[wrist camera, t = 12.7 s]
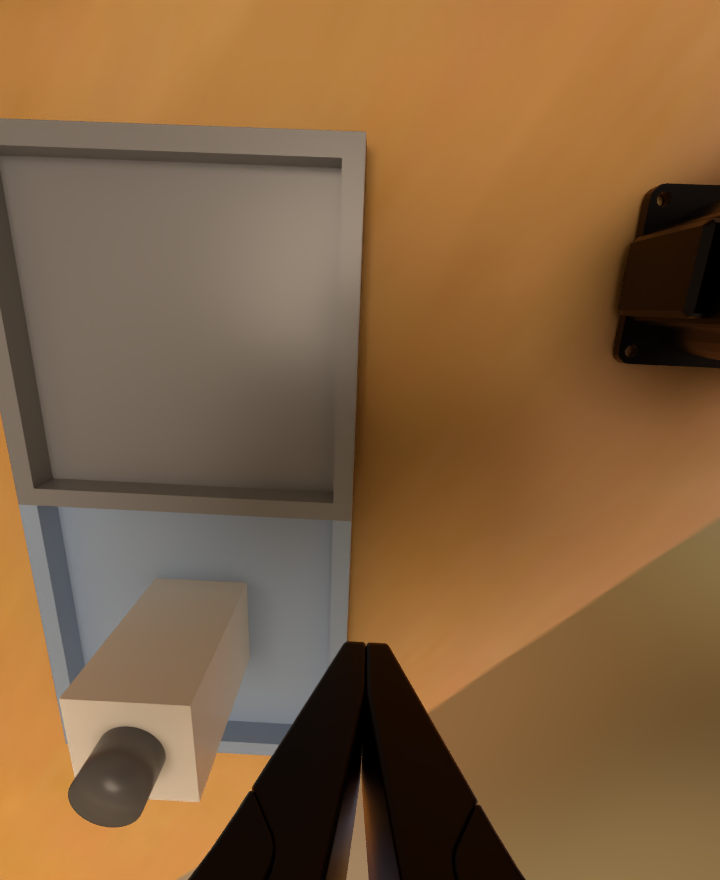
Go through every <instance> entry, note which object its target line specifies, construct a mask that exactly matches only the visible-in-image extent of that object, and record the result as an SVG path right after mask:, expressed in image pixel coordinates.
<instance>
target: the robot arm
mask: <svg viewBox="0 0 720 880" xmlns="http://www.w3.org/2000/svg"><path fill="white" fill-rule="evenodd" d="M659 194H661V195H663V197H664V203H663V205H662V206H659V205H658V204H657V197H658V195H659ZM618 310H619V312H620V313H621V316H620V320H619V325H618V330H617V335H616V340H615V345H614V357H615V359H616V360H618V361H619V362H623V363H627V364H644V365H667V366H689V367H712V368H720V185H694V184H668V183H667V184H661V185H659V186H657V187H655V188H653V189H651V190H650V191H649V192H648V193H647V194H646V196H645V199H644V202H643V207H642V212H641V217H640V222H639V227H638V231H637V236H636V240H635V241H633V242H632V243H631V245H630V250H629V255H628V260H627V265H626V270H625V275H624V280H623V285H622V290H621V295H620V300H619V305H618ZM629 345H631V347H632V352H631V354H630V355H629V356H626V355H625V349H626V348H627V347H628V346H629ZM361 756H362V793H363V808H364V821H365V834H366V847H367V862H368V875H369V880H526V879H525V878H524V877H523V875H522V874H521V872H520V871H519V869H518V868H517V866H516V864H515V863H514V861H513V860H512V858H511V856H510V855H509V853H508V851H507V850H506V848H505V847H504V845H503V843H502V841H501V840H500V838H499V836H498V835H497V833H496V831H495V830H494V828H493V826H492V825H491V823H490V821H489V819H488V818H487V816H486V814H485V812H484V811H483V809H482V807H481V806H480V805H477V803H478V801H477V799H476V797H475V795H474V794H473V792H472V790H471V788H470V787H469V785H468V783H467V781H466V780H465V778H464V776H463V774H462V773H461V771H460V769H459V767H458V766H457V764H456V762H455V761H454V759H453V757H452V755H451V754H450V752H449V750H448V748H447V746H446V745H445V743H444V741H443V739H442V738H441V736H440V734H439V732H438V731H437V729H436V727H435V726H434V724H433V722H432V720H431V719H430V717H429V715H428V713H427V712H426V710H425V708H424V706H423V705H422V703H421V701H420V699H419V698H418V696H417V694H416V692H415V691H414V689H413V687H412V685H411V684H410V682H409V680H408V678H407V677H406V675H405V673H404V671H403V670H402V668H401V666H400V664H399V663H398V661H397V659H396V658H395V656H394V654H393V652H392V651H391V649H390V647H389V646H388V645H387V644H385V643H368V644H367V645H365V643H364V642H351V641H347V642H345V643H344V644H343V645H342V647H341V648H340V650H339V651H338V653H337V654H336V656H335V658H334V659H333V661H332V662H331V664H330V665H329V667H328V669H327V670H326V672H325V673H324V675H323V676H322V678H321V680H320V681H319V683H318V684H317V686H316V687H315V689H314V691H313V692H312V694H311V695H310V697H309V698H308V700H307V702H306V703H305V705H304V706H303V708H302V709H301V711H300V713H299V714H298V716H297V717H296V719H295V720H294V722H293V724H292V725H291V727H290V728H289V730H288V731H287V733H286V735H285V736H284V738H283V739H282V741H281V743H280V744H279V746H278V747H277V749H276V750H275V752H274V754H273V755H272V757H271V758H270V760H269V761H268V763H267V765H266V766H265V768H264V769H263V771H262V772H261V774H260V776H259V777H258V779H257V780H256V782H255V783H254V785H253V787H252V791H250V792H249V793H248V794H247V796H246V797H245V799H244V800H243V802H242V803H241V805H240V807H239V808H238V810H237V811H236V813H235V814H234V816H233V817H232V819H231V820H230V822H229V823H228V825H227V826H226V828H225V829H224V831H223V832H222V834H221V835H220V837H219V838H218V840H217V841H216V842H215V844H214V845H213V847H212V848H211V850H210V851H209V852H208V854H207V855H206V856H205V858H204V859H203V860H202V862H201V863H200V864H199V866H198V867H197V868H196V870H195V871H194V872H193V874H192V875H191V877H190V878H189V879H188V880H346V877H347V870H348V863H349V856H350V848H351V841H352V834H353V827H354V820H355V813H356V806H357V799H358V792H359V782H360V773H361Z"/></svg>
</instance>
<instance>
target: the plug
mask: <svg viewBox="0 0 720 880" xmlns="http://www.w3.org/2000/svg"><path fill="white" fill-rule="evenodd" d="M249 659H250V645H249V622H248V598H247V583H244V582H223V581H203V580H182V579H162V578H155V579H154V581H153V582H152V583H151V584H150V586H149V587H148V588H147V589H146V591H145V592H144V593H143V594H142V596H141V597H140V598H139V599H138V601H137V602H136V603H135V604H134V606H133V607H132V608H131V609H130V611H129V612H128V613H127V614H126V616H125V617H124V618H123V619H122V621H121V622H120V623H119V624H118V626H117V627H116V628H115V629H114V631H113V632H112V633H111V634H110V636H109V637H108V638H107V639H106V641H105V642H104V643H103V644H102V646H101V647H100V648H99V649H98V651H97V652H96V653H95V654H94V656H93V657H92V658H91V659H90V661H89V662H88V663H87V664H86V666H85V667H84V668H83V669H82V671H81V672H80V673H79V674H78V676H77V677H76V678H75V679H74V681H73V682H72V683H71V684H70V686H69V687H68V688H67V689H66V691H65V692H64V693H63V694H62V696H61V697H60V698H59V702H60V707H61V712H62V717H63V722H64V727H65V732H66V737H67V742H68V747H69V752H70V757H71V762H72V767H73V772H74V777H75V779H74V781H73V782H72V784H71V785H70V788H69V791H68V798H69V802H70V804H71V806H72V808H73V809H74V810H75V811H76V813H78V814H79V815H80V816H81V817H82V818H84V819H85V820H87V821H89V822H91V823H94V824H96V825H100V826H104V827H122V826H126V825H129V824H131V823H133V822H135V821H136V820H137V819H138V818H139V817H140V815H141V813H142V811H143V809H144V807H145V805H146V803H147V800H148V799H153V800H171V801H188V802H200V799H201V796H202V793H203V791H204V788H205V785H206V782H207V779H208V776H209V773H210V771H211V768H212V765H213V762H214V759H215V756H216V753H217V751H218V748H219V745H220V742H221V739H222V736H223V734H224V731H225V728H226V725H227V722H228V719H229V716H230V714H231V711H232V708H233V705H234V702H235V699H236V696H237V694H238V691H239V688H240V685H241V682H242V679H243V676H244V674H245V671H246V668H247V665H248V662H249Z"/></svg>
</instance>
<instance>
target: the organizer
mask: <svg viewBox="0 0 720 880" xmlns="http://www.w3.org/2000/svg"><path fill="white" fill-rule="evenodd" d="M366 158H367V138H366V132H359V131H331V130H304V129H276V128H249V127H222V126H194V125H167V124H140V123H112V122H85V121H57V120H30V119H3V118H0V412H1V417H2V422H3V427H4V432H5V437H6V442H7V447H8V452H9V457H10V463H11V468H12V473H13V478H14V483H15V488H16V493H17V498H18V503H19V508H20V513H21V518H22V523H23V528H24V533H25V539H26V544H27V549H28V554H29V559H30V564H31V569H32V574H33V579H34V584H35V589H36V594H37V599H38V604H39V609H40V614H41V620H42V625H43V630H44V635H45V640H46V645H47V650H48V655H49V660H50V665H51V670H52V675H53V680H54V685H55V690H56V696H57V701H58V706H59V711H60V716H61V721H62V726H63V731H64V736H65V741H66V744H68V742H67V737H66V732H65V727H64V722H63V717H62V712H61V707H60V702H59V698H60V697H61V696H62V694H63V693H64V692H65V691H66V689H67V688H68V687H69V686H70V684H71V683H72V682H73V681H74V679H75V678H76V677H77V676H78V674H79V673H80V672H81V671H82V669H83V668H84V667H85V666H86V664H87V663H88V662H89V661H90V659H91V658H92V657H93V656H94V654H95V653H96V652H97V651H98V649H99V648H100V647H101V646H102V644H103V643H104V642H105V641H106V639H107V638H108V637H109V636H110V634H111V633H112V632H113V631H114V629H115V628H116V627H117V626H118V624H119V623H120V622H121V621H122V619H123V618H124V617H125V616H126V614H127V613H128V612H129V611H130V609H131V608H132V607H133V606H134V604H135V603H136V602H137V601H138V599H139V598H140V597H141V596H142V594H143V593H144V592H145V591H146V589H147V588H148V587H149V586H150V584H151V583H152V582H153V581H154V579H155V578H162V579H182V580H203V581H223V582H244V583H247V598H248V622H249V645H250V659H249V662H248V665H247V668H246V671H245V674H244V676H243V679H242V682H241V685H240V688H239V691H238V694H237V696H236V699H235V702H234V705H233V708H232V711H231V714H230V716H229V719H228V722H227V725H226V728H225V731H224V734H223V736H222V739H221V742H220V745H219V748H218V751H217V752H218V753H235V754H252V755H269V756H272V755H273V754H274V752H275V750H276V749H277V747H278V746H279V744H280V743H281V741H282V739H283V738H284V736H285V735H286V733H287V731H288V730H289V728H290V727H291V725H292V724H293V722H294V720H295V719H296V717H297V716H298V714H299V713H300V711H301V709H302V708H303V706H304V705H305V703H306V702H307V700H308V698H309V697H310V695H311V694H312V692H313V691H314V689H315V687H316V686H317V684H318V683H319V681H320V680H321V678H322V676H323V675H324V673H325V672H326V670H327V669H328V667H329V665H330V664H331V662H332V661H333V659H334V658H335V656H336V654H337V653H338V651H339V650H340V648H341V647H342V645H343V644H344V643H345V642H347V639H348V614H349V589H350V563H351V538H352V513H353V487H354V462H355V437H356V411H357V386H358V361H359V335H360V310H361V285H362V259H363V234H364V209H365V184H366Z"/></svg>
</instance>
